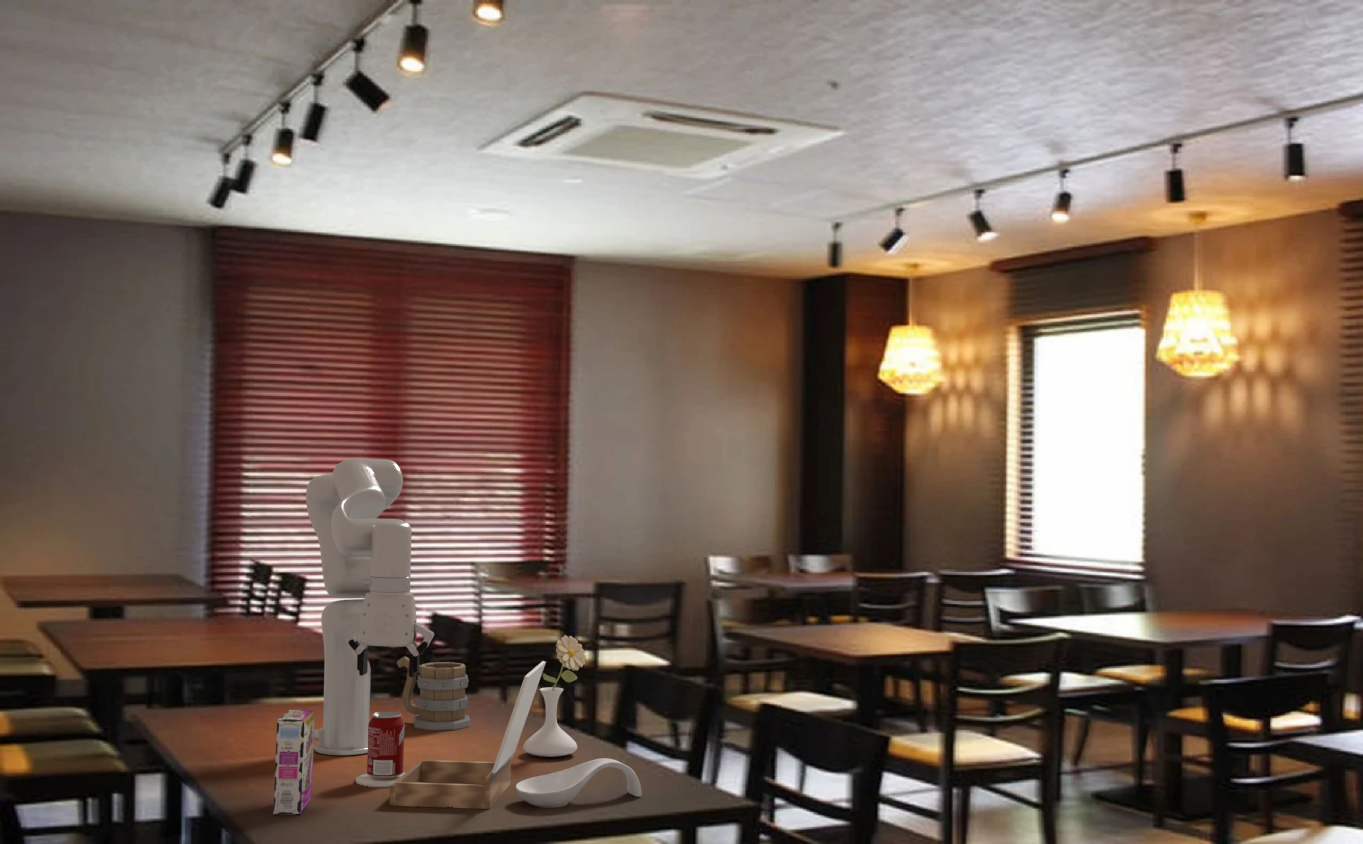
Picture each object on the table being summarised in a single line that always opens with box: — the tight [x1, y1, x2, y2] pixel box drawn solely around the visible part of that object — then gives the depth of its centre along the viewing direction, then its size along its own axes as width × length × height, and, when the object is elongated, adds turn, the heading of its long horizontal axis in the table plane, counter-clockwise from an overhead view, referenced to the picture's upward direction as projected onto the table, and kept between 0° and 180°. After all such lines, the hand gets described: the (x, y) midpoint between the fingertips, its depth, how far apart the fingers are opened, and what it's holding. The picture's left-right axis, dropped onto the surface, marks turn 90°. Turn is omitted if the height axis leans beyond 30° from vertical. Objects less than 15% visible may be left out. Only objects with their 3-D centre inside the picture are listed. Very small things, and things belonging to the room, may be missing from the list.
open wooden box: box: [389, 758, 512, 810], centre depth 260 cm, size 18×20×5 cm
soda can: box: [366, 711, 405, 780], centre depth 270 cm, size 7×7×12 cm
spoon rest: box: [514, 757, 642, 809], centre depth 257 cm, size 24×12×7 cm, turn 118°
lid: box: [490, 660, 547, 778], centre depth 260 cm, size 19×20×1 cm
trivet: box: [355, 771, 406, 788], centre depth 270 cm, size 11×11×1 cm
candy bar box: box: [272, 709, 316, 815], centre depth 248 cm, size 11×5×16 cm, turn 5°
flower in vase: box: [522, 634, 587, 758], centre depth 297 cm, size 13×11×25 cm
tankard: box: [396, 656, 471, 732], centre depth 330 cm, size 20×13×15 cm, turn 58°
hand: (387, 675), depth 271 cm, fingers open, 9 cm apart
